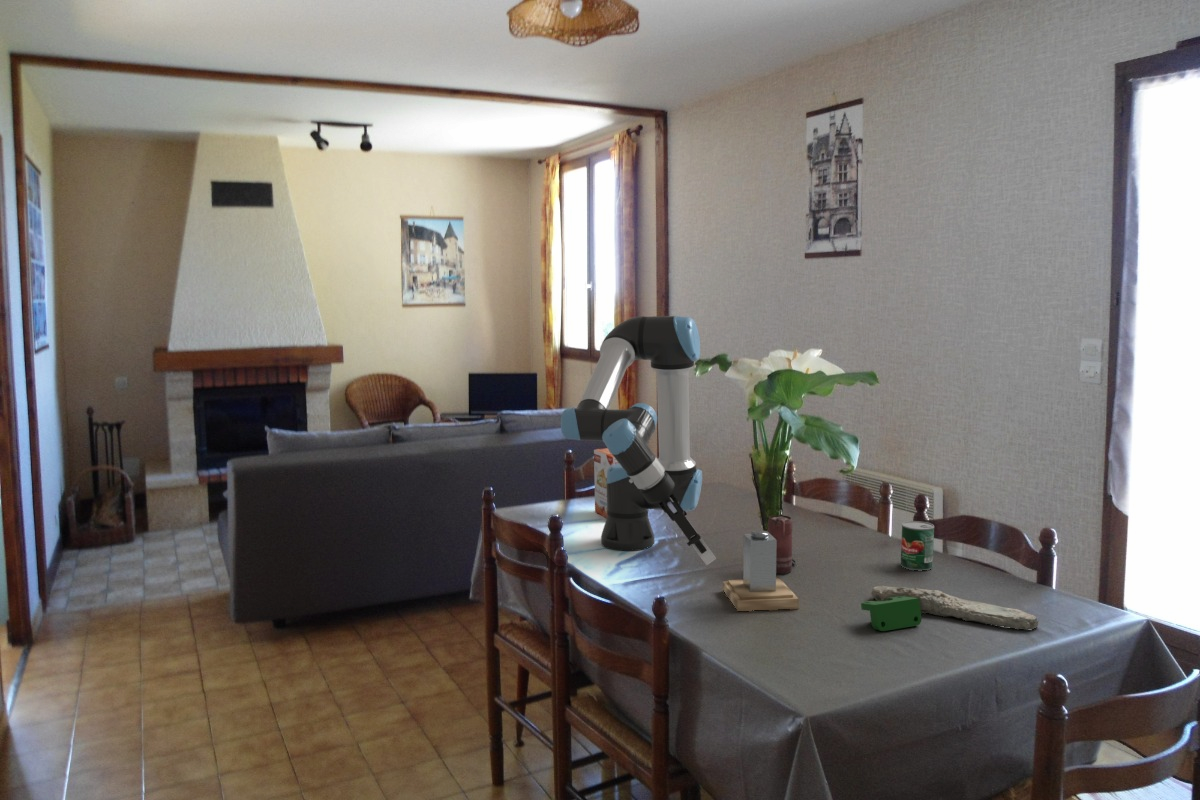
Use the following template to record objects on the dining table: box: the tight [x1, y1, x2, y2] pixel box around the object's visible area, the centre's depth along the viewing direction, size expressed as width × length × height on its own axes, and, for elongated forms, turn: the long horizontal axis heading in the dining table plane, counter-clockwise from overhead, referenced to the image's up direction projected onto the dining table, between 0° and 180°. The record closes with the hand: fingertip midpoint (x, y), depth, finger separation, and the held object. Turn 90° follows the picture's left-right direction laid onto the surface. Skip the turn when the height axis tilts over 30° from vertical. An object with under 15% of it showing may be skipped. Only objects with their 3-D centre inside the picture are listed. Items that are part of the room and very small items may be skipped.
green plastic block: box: [860, 596, 922, 632], centre depth 192 cm, size 12×6×9 cm, turn 104°
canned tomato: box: [900, 520, 935, 572], centre depth 231 cm, size 8×8×11 cm
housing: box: [742, 529, 777, 592], centre depth 207 cm, size 6×6×13 cm
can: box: [767, 514, 793, 575], centre depth 228 cm, size 6×6×14 cm
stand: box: [722, 577, 800, 612], centre depth 208 cm, size 14×14×3 cm
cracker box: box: [593, 447, 619, 519], centre depth 284 cm, size 14×6×21 cm, turn 25°
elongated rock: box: [870, 585, 1039, 630], centre depth 198 cm, size 35×5×10 cm
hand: (703, 551), depth 207 cm, fingers open, 13 cm apart
